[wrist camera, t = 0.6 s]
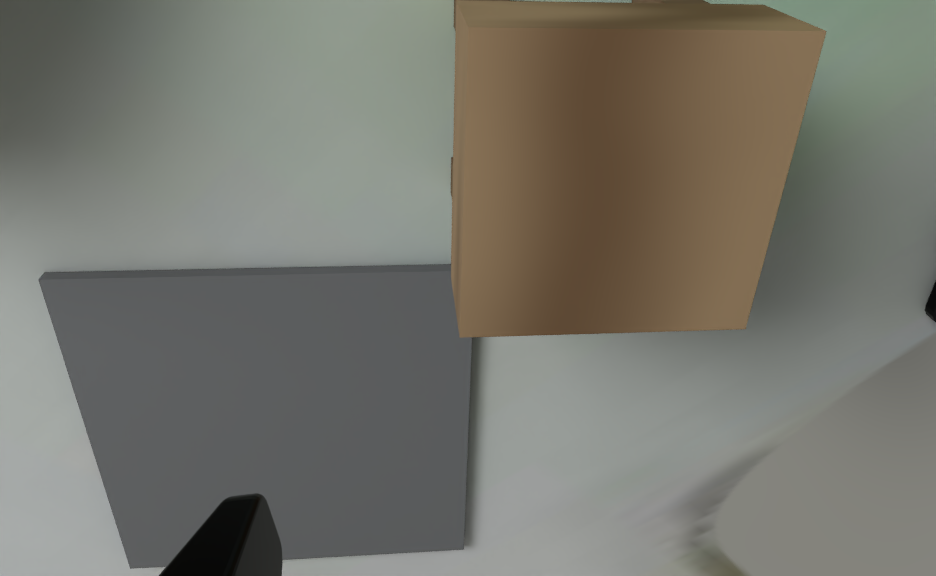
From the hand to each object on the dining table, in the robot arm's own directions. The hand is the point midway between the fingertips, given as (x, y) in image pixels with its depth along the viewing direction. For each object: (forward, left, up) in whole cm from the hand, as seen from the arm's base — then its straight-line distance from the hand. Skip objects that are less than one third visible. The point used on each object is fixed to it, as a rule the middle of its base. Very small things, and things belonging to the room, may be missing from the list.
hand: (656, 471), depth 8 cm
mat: (+7, +10, -13) cm, 18 cm away
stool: (-1, -1, -13) cm, 13 cm away
